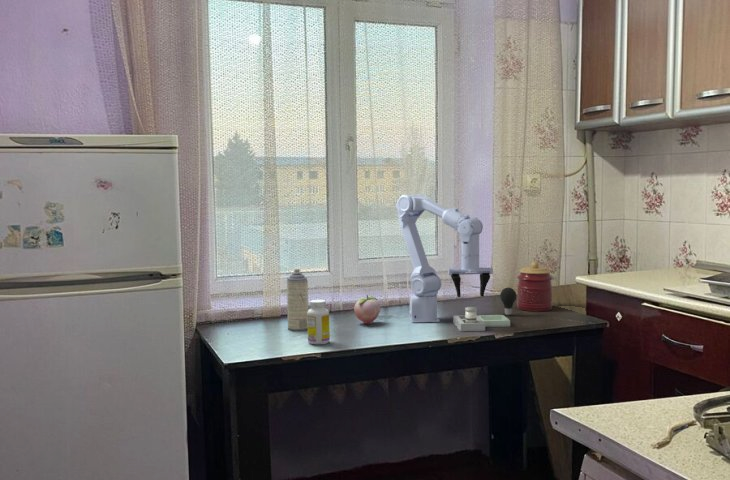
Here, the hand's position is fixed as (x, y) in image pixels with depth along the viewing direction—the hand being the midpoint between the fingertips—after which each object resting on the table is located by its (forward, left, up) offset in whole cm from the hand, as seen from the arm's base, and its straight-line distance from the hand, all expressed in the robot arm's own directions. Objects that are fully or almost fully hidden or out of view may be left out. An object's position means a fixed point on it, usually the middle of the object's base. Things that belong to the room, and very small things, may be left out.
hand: (470, 296), depth 230 cm
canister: (+30, +29, -11) cm, 44 cm away
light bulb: (+17, +18, -11) cm, 27 cm away
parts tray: (+9, +5, -11) cm, 15 cm away
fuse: (0, -2, -11) cm, 11 cm away
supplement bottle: (-50, -15, -11) cm, 53 cm away
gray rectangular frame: (0, +2, -11) cm, 11 cm away
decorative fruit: (-34, +9, -11) cm, 36 cm away
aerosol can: (-57, +4, -11) cm, 58 cm away
